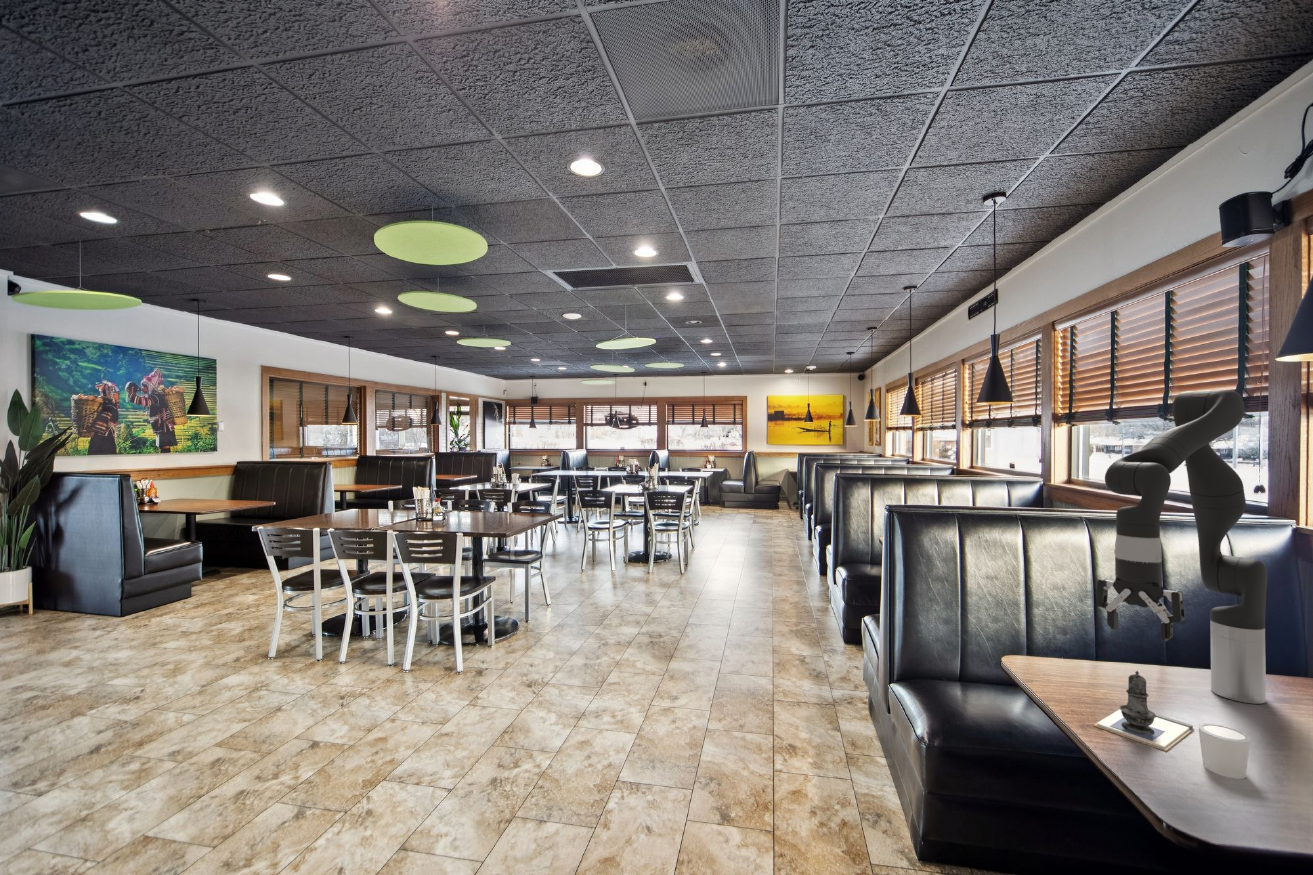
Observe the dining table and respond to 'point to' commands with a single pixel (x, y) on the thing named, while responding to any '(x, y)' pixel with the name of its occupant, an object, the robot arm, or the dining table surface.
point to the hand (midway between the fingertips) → (1138, 634)
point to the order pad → (1164, 728)
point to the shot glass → (1224, 750)
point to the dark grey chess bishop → (1137, 707)
